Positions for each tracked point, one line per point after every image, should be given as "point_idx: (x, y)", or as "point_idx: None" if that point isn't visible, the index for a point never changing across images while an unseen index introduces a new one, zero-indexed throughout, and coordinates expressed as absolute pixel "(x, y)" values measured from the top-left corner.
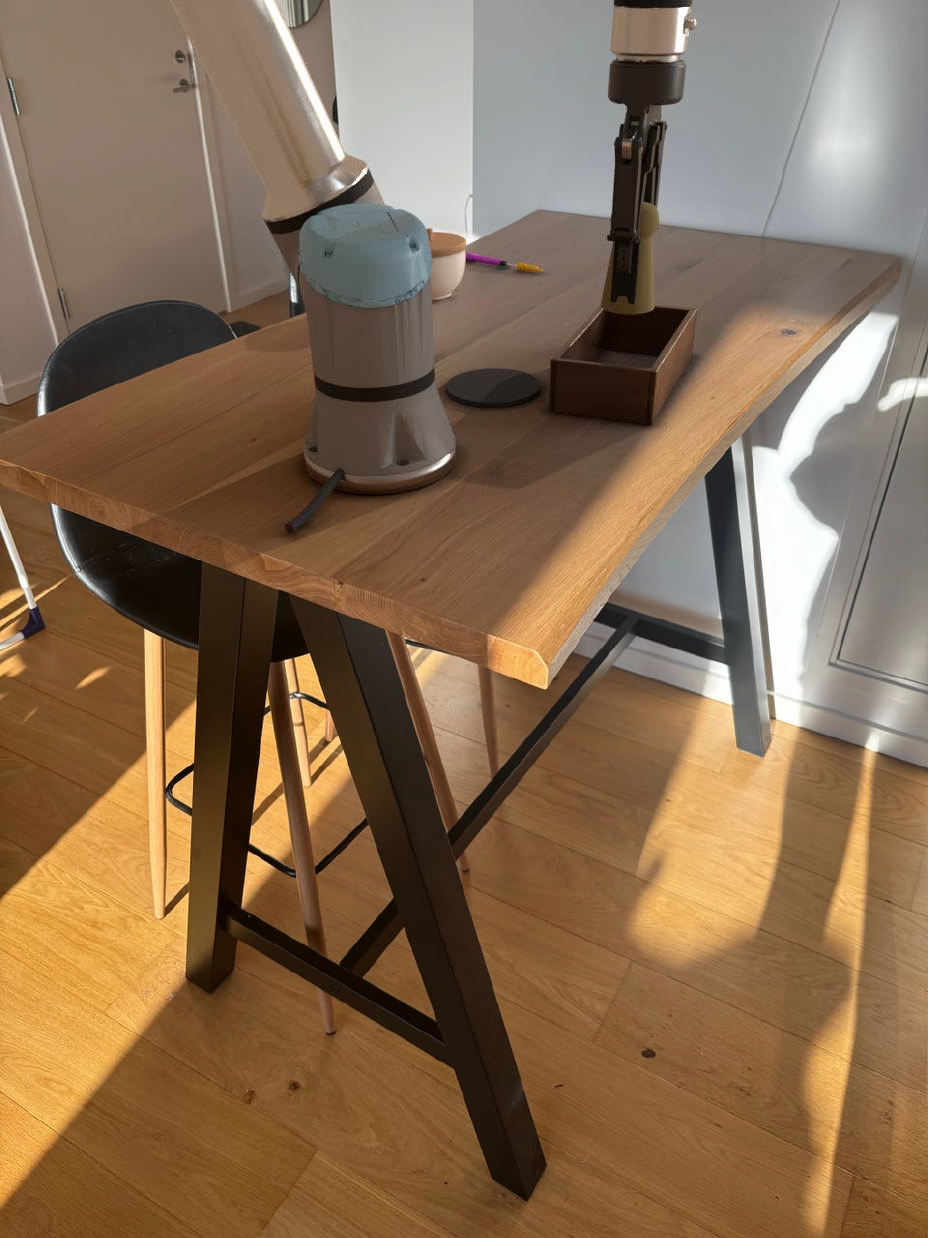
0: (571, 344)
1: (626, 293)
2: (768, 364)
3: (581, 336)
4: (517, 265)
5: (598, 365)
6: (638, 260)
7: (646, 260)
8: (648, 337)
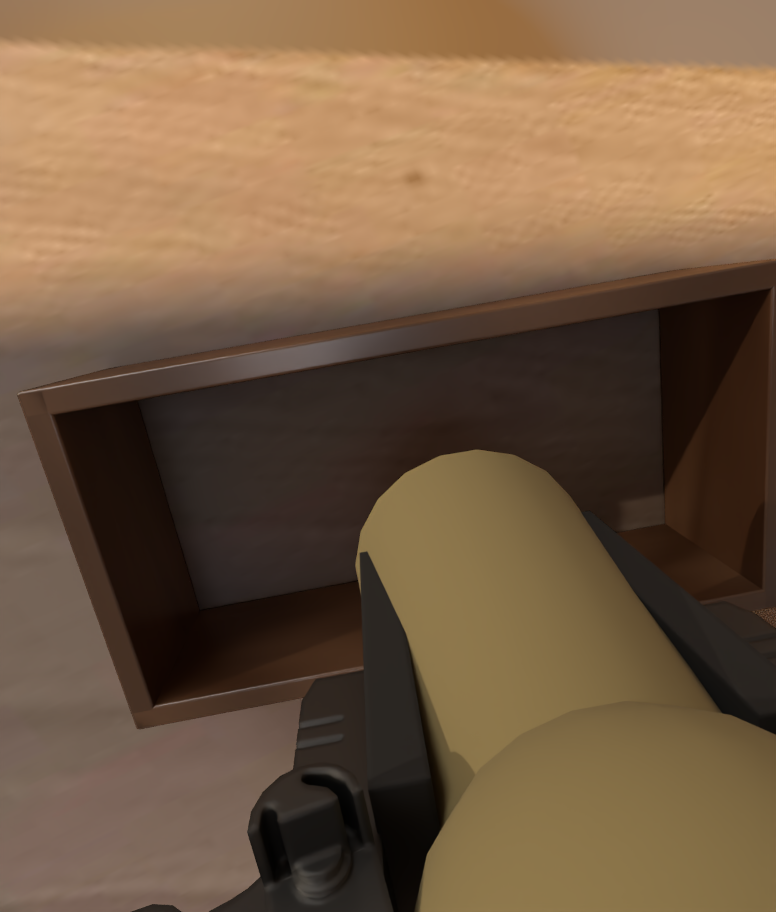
0: None
1: None
2: (16, 95)
3: None
4: None
5: None
6: (702, 620)
7: (613, 591)
8: (149, 516)
